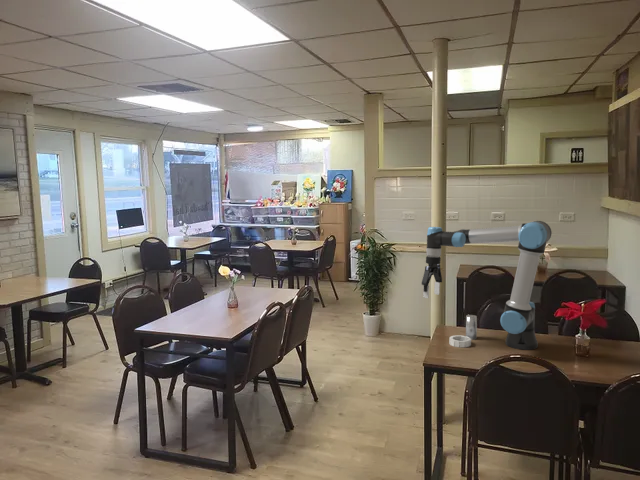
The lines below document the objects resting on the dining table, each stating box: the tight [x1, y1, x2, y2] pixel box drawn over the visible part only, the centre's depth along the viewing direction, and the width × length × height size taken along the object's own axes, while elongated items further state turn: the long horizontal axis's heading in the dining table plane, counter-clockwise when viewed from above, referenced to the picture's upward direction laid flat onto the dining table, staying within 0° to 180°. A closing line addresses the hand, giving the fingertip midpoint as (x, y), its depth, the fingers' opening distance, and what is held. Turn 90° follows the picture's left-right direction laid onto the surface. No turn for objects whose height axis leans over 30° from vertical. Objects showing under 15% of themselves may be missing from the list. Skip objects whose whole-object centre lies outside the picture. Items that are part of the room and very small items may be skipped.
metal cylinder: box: [465, 314, 478, 341], centre depth 259 cm, size 6×6×12 cm
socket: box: [449, 334, 472, 348], centre depth 250 cm, size 10×10×3 cm
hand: (431, 296), depth 256 cm, fingers open, 13 cm apart
